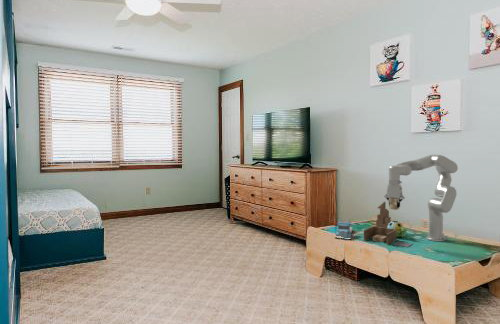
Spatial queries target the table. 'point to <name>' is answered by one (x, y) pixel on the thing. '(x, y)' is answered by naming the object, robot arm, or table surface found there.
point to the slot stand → (380, 234)
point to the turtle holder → (397, 228)
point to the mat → (402, 244)
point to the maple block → (393, 203)
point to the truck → (344, 229)
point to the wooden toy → (383, 216)
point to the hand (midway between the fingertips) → (394, 206)
